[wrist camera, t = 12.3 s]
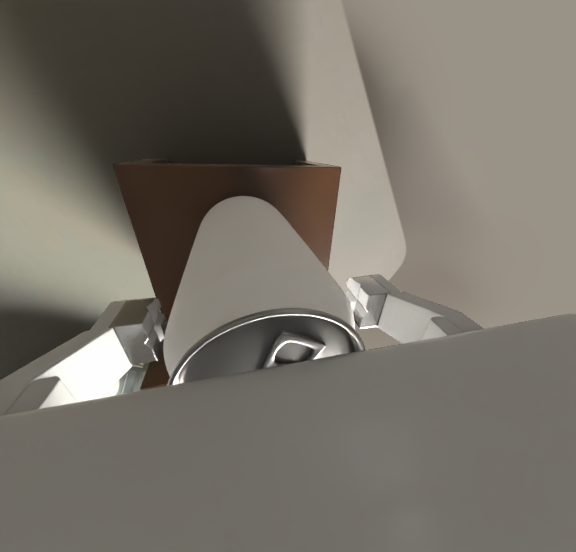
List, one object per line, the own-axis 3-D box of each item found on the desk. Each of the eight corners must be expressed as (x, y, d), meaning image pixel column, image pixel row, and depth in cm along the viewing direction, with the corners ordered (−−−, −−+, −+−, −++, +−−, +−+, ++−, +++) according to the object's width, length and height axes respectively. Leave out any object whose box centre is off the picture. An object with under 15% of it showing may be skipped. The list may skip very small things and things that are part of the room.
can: (184, 259, 16) (114, 451, 6) (220, 174, 14) (206, 248, 4) (263, 288, 19) (306, 452, 9) (303, 221, 17) (421, 334, 7)
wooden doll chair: (306, 160, 22) (397, 176, 10) (300, 271, 28) (352, 359, 17) (151, 158, 19) (33, 175, 7) (182, 282, 25) (144, 399, 14)
